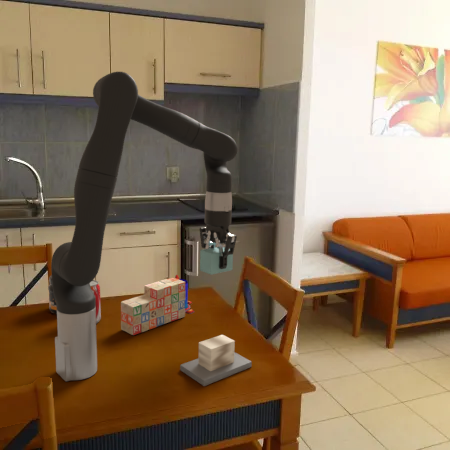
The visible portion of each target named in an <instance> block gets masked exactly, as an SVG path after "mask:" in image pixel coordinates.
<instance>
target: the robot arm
mask: <svg viewBox="0 0 450 450" xmlns="http://www.w3.org/2000/svg"><path fill="white" fill-rule="evenodd" d="M92 96H93V100H94V102H95V104H96V106H97V107H98V110H97V116H96V122H95V125H94V129H93V131H92V134H91V136H90V138H89V141H88V142H87V144H86V147H85V149H84V151H83V153H82V155H81V159H80V161H79V165H78V169H77V173H76V177H75V181H74V187H73V188H74V189H73V198H74V200H73V201H74V211H75V212H74V213H75V225H74V226H75V227H74V232H73V235H72V238H71V239H72V240H71V241H68V242H63V244H60V245H59V246H57V247H56V249H55V250H54V252H53V254H52V257H51V268H50V269H51V270H50V271H51V275H52V284H53V294H54V298H55V301H56V305H57V314H56V324H57V336H55V337H54V349H55V352H54V353H55V371H56V373H57V374H58V376H60V378H61V379H62V380H64V381H65V382H69V381H81V380H86V379H89V378H90V377H92V376H94V375H95V374H96V373H97V371H98V348H97V347H98V346H97V323H96V300H95V295H94V293H93V291H92V289H91V287H90V284H89V283H90V282H91V281H92V280H95V278H96V277H97V275H98V273H99V271H100V267H101V262H102V252H103V243H104V237H105V236H104V235H105V229H106V226H107V221H108V217H109V213H110V209H111V205H112V199H113V195H114V193H115V188H116V184H117V180H118V175H119V169H120V166H121V161H122V156H123V151H124V144H125V138H126V135H127V131H128V127H129V125H130V122H131V120H132V121H135V122H137V123H140V124H142V125H144V126H147V127H148V128H151V129H153V130H155V131H157V132H158V133H161V134H162V135H164V136H167V137H168V138H170V139H172V140H174V141H176V142H178V143H180V144H182V145H184V146H186V147H188V148H191V149H194V150H199V151H201V152H203V161H204V167H205V172H206V193H205V197H204V199H205V200H204V224H205V225H206V226H205V227H204V226H203V227H199V230H198V231H199V237H200V244H201V248H202V249H210V248H216V247H217V248H218V249H219V253H220V256H219V268H220V269H225V268H226V267H227V256H228V255H232V254H233V255H234V250H235V247H236V242H237V239H238V237H237V235H236V234H232V233H230V228H229V227H230V225H232V214H233V213H232V212H233V211H232V208H233V207H232V206H233V196H232V191H233V189H232V187H233V186H232V185H233V175H232V173H231V172H230V171H229V170H228V168H227V167H228V166H227V162H230V161H232V160H234V159H235V158H236V156H237V154H238V150H239V149H238V144H237V143H236V141H235V139H234V138H232V137H231V136H230V135H228V134H226V133H224V132H221V131H219V130H218V129H214V128H212V127H209V126H206V125H204V124H203V123H202V122H199V121H198V120H196V119H194V118H193V117H190V116H188V115H186V114H185V113H182V112H180V111H177V110H175V109H172V108H169V107H166V106H163V105H162V104H158V103H157V102H156V103H155V102H153V101H151V100H149V99H146V98H145V97H143V96H142V95H140V94H139V89H138V85H137V83H136V81H135V79H134V78H133V77H132V76H131V75H130V74H129V73H127V72H125V71H113V72H110V73H108V74H105V75H103V76H102V77H101V78H99V79H98V80H97V81H96V82H95V84H94V86H93V89H92ZM223 248H224V252H223ZM229 249H230V250H229Z"/></svg>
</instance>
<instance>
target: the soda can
mask: <svg viewBox="0 0 450 450" xmlns="http://www.w3.org/2000/svg"><path fill="white" fill-rule="evenodd" d="M89 284H90V287H91V289H92V291H93V293H94V295H95V300H96V324H98V323H99V322H100V321H101V319H102V315H101V313H102V311H101V310H102V309H101V308H102V306H101V305H102V304H101V303H102V302H101V286H100V284H99V281H98V280H96V279H93V280H92V281H91V282H90V283H89Z"/></svg>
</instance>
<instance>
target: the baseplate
mask: <svg viewBox="0 0 450 450" xmlns="http://www.w3.org/2000/svg"><path fill="white" fill-rule="evenodd" d="M198 359H199V357H198V358H196V359H192V360H190V361H188V362H184V363H182V364H180V365H179V371H181V372H183V374H186V375H187V376H188V377H189V378H191V379H193V380H194V381H196V382H197V383H199V384H200V385H201V386H203V387H206V386H209V385H210V384H212V383H215V382H218V381H220V380H222V379H226V378H228V377H230V376H233V375H235V374H237V373H240V372H242V371H245V370H247V369H249V368H252V360H249V359H248V358H247V357H244V356H242V355H240V354H239V353H237V352H235V351H234V362H233V363H231V364H228V365H225V366H223V367H220V368H218V369H215V370H213V371H209V370H207V369H206V368H204V367H203V366H201V365H199V364H198Z"/></svg>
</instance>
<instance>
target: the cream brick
mask: <svg viewBox="0 0 450 450" xmlns="http://www.w3.org/2000/svg"><path fill="white" fill-rule="evenodd" d="M235 342H236V340H234V339H232V338H230V337H228V336H226V335H224V334H220V335H217V336H214V337H211V338H209V339H205V340H202V341H199V342H198V358H199V359H198V358H197V359H198V364H199V365H201V366H203V367H204V368H206V369H207V370H209V371H213V370H215V369H218V368H220V367H223V366H225V365H228V364H231V363H233V362H234V352H235V348H236V347H235V345H236V344H235Z"/></svg>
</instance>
